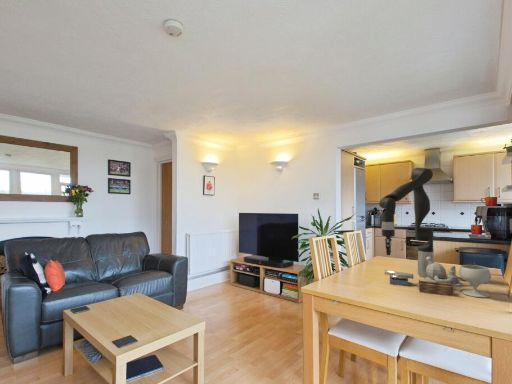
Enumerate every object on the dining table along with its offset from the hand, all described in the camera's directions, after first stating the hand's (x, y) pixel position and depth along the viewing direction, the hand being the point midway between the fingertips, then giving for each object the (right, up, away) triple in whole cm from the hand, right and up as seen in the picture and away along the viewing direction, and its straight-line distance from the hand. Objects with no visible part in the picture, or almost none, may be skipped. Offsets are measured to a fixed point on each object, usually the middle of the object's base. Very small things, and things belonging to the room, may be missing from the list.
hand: (388, 253), depth 177 cm
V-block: (+5, -18, -4) cm, 19 cm away
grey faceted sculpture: (+32, -18, -4) cm, 37 cm away
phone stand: (+53, -18, -1) cm, 56 cm away
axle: (+5, -12, -3) cm, 13 cm away
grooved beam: (+16, -17, -22) cm, 32 cm away
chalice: (+35, -17, -26) cm, 47 cm away
